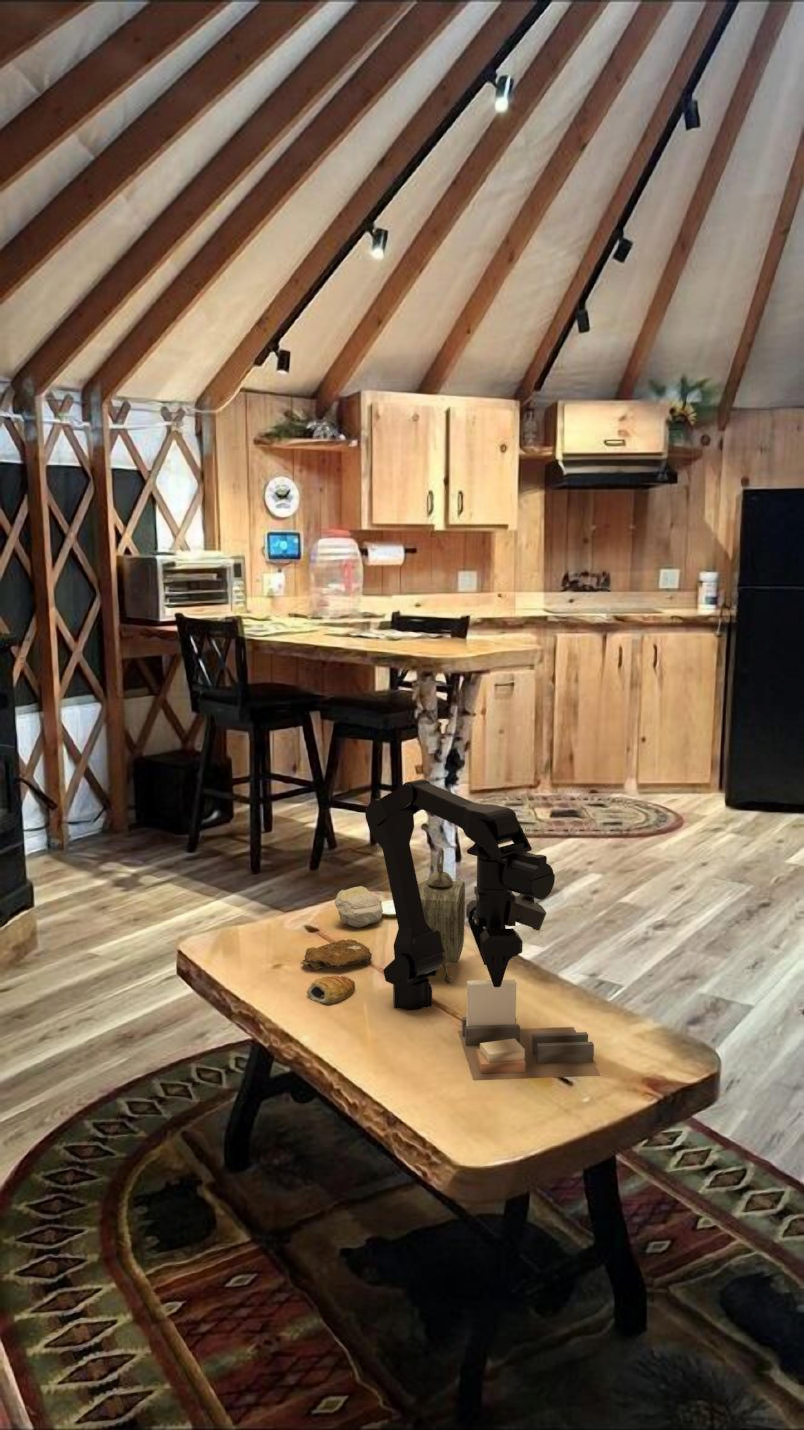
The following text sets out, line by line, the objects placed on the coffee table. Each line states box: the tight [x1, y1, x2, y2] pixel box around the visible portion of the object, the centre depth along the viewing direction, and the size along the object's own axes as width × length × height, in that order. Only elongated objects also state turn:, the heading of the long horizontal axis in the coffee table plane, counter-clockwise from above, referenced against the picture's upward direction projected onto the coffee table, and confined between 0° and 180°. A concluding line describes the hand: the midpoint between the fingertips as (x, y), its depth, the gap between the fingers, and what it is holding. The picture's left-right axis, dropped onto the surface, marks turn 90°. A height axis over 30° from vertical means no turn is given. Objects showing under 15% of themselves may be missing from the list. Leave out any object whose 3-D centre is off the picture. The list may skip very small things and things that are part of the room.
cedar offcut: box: [476, 1049, 525, 1073], centre depth 162 cm, size 7×5×2 cm
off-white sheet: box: [465, 979, 517, 1026], centre depth 170 cm, size 8×2×10 cm, turn 95°
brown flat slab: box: [300, 939, 373, 971], centre depth 207 cm, size 11×4×15 cm
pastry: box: [306, 975, 356, 1005], centre depth 192 cm, size 9×7×4 cm
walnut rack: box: [457, 1016, 602, 1081], centre depth 166 cm, size 20×17×4 cm
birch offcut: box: [480, 1039, 525, 1064], centre depth 162 cm, size 6×4×2 cm, turn 107°
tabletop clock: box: [418, 848, 466, 984], centre depth 201 cm, size 14×9×25 cm, turn 170°
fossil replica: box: [334, 885, 384, 928], centre depth 230 cm, size 12×8×10 cm
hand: (492, 975), depth 169 cm, fingers open, 9 cm apart
